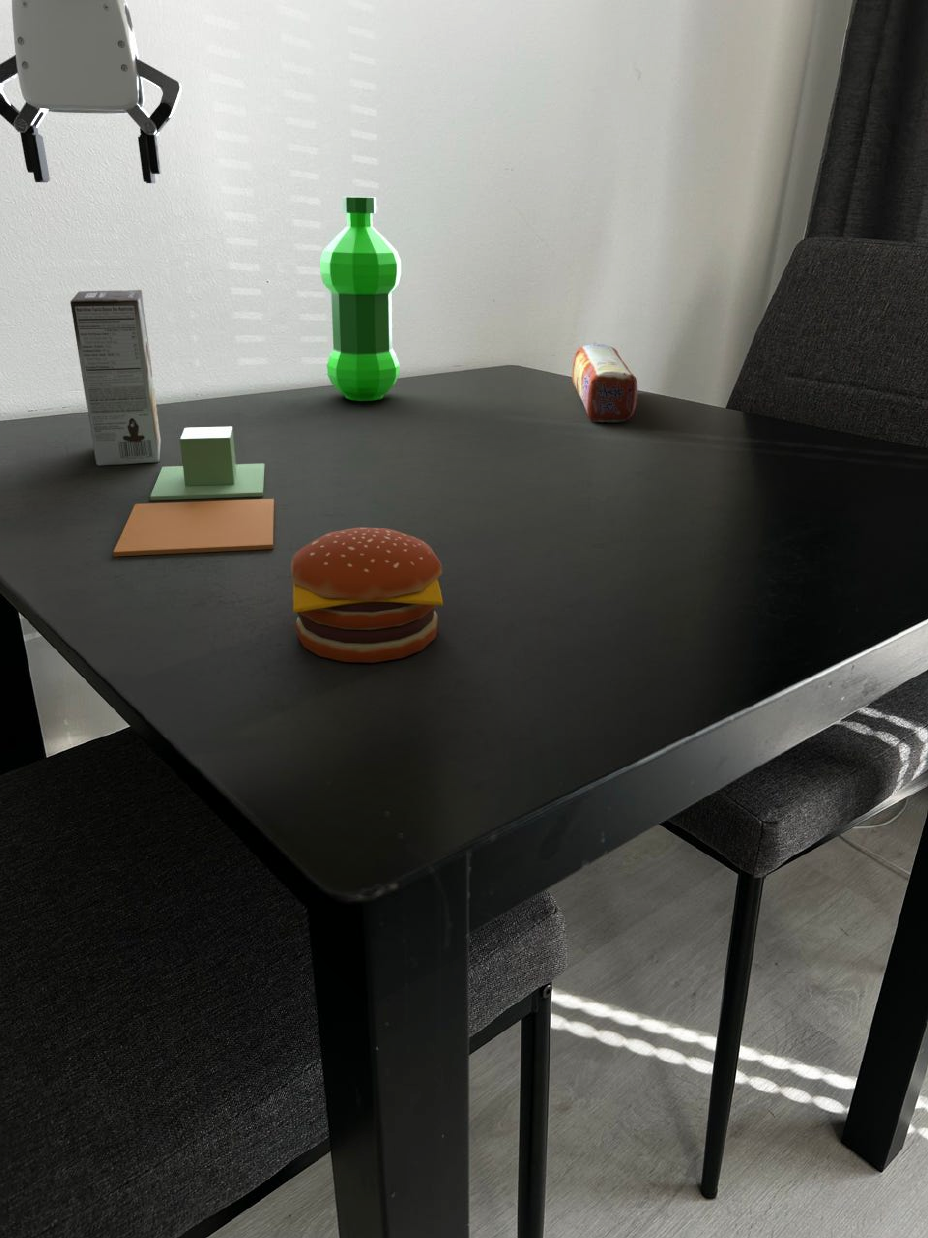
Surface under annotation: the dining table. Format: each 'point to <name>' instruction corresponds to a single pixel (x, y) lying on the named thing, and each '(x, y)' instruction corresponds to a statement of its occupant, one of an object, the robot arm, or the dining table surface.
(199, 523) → the caramel mat
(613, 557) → the dining table surface
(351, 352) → the plastic bottle
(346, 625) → the hamburger
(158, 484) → the green mat
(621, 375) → the snack package
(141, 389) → the coffee box
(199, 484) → the green block
